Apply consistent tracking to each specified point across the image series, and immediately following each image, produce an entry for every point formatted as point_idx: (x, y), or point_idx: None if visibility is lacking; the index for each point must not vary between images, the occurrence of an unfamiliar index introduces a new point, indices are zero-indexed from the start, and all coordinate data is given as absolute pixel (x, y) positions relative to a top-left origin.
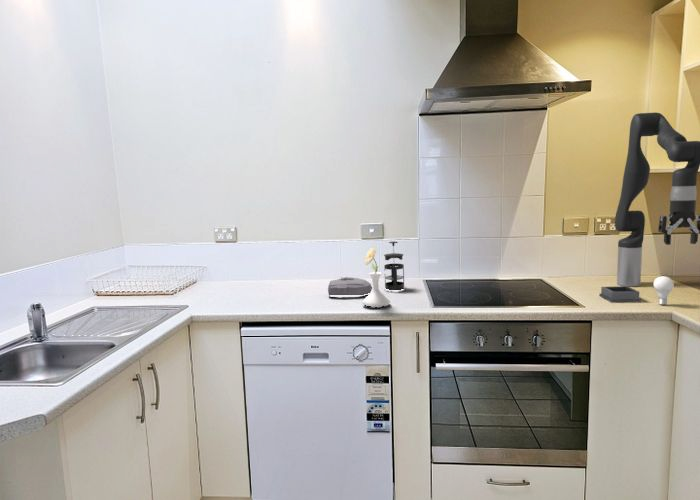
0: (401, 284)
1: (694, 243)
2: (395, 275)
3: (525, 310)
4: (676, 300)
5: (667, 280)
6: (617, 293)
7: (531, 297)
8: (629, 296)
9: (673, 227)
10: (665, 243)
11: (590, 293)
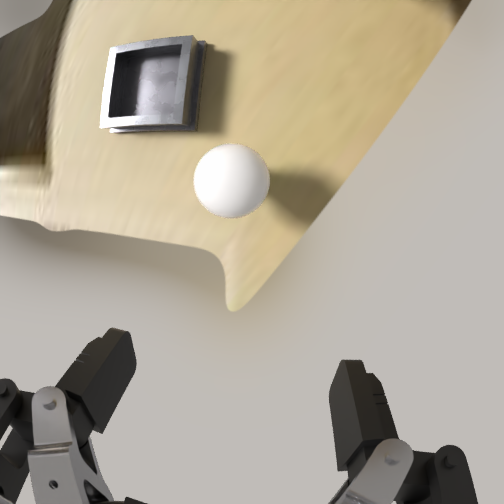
0: None
1: (333, 396)
2: None
3: None
4: (324, 124)
5: (225, 214)
6: (116, 126)
7: (4, 94)
8: (156, 125)
9: (90, 500)
10: (112, 331)
11: (119, 25)
